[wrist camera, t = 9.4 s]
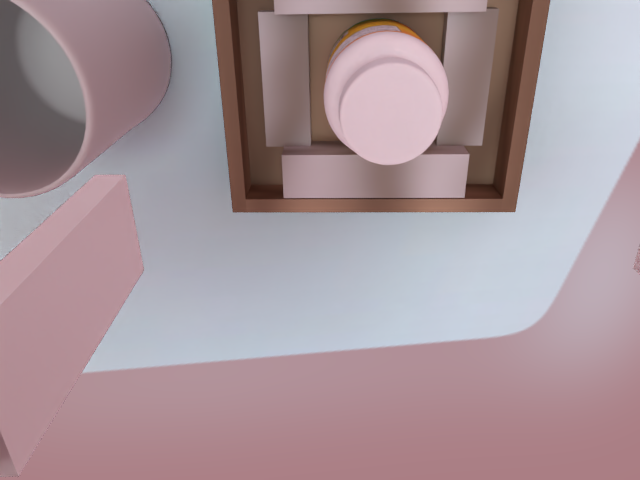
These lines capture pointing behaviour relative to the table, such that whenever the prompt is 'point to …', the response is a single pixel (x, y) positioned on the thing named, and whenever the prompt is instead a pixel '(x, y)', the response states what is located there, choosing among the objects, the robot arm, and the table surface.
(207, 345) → the table surface
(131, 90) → the mug
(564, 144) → the table surface
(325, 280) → the table surface
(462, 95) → the walled box
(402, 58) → the supplement bottle
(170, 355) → the table surface
